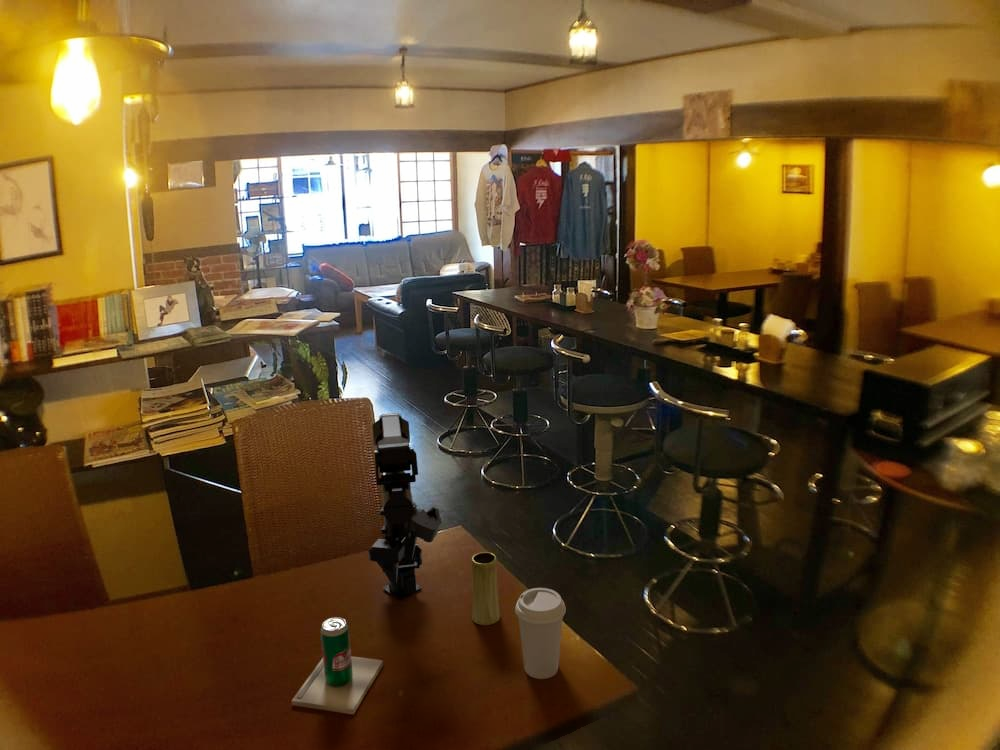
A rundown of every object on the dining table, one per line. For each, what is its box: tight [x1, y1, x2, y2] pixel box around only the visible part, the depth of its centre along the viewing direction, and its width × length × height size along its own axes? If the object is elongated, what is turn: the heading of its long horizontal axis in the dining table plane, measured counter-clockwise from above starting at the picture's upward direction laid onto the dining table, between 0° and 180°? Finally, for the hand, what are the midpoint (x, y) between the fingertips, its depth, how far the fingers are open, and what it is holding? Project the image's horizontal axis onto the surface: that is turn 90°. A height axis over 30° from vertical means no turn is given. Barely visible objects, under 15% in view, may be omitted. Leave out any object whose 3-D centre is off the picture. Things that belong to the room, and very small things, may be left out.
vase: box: [471, 551, 501, 626], centre depth 157 cm, size 6×6×14 cm
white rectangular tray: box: [291, 655, 384, 715], centre depth 138 cm, size 14×12×1 cm
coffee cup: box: [514, 587, 567, 680], centre depth 140 cm, size 10×10×15 cm
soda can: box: [320, 616, 353, 687], centre depth 137 cm, size 5×5×12 cm
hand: (402, 571), depth 153 cm, fingers open, 9 cm apart
